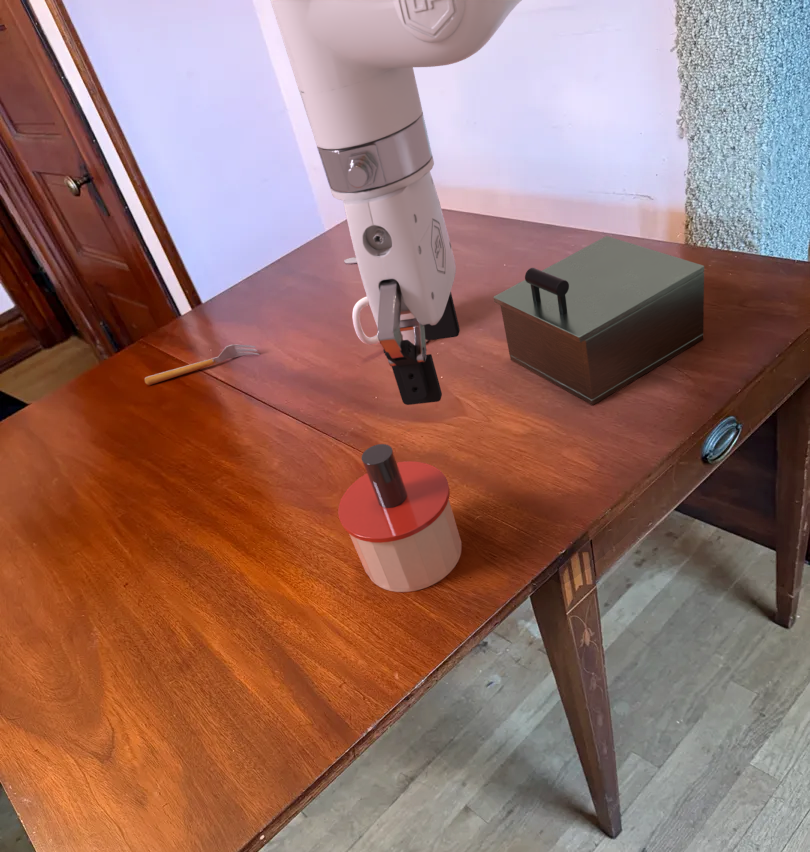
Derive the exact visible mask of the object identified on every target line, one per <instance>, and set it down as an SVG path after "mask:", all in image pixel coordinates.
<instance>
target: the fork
mask: <svg viewBox="0 0 810 852" xmlns="http://www.w3.org/2000/svg"><path fill="white" fill-rule="evenodd" d="M256 347H257V346H255V345H252V344H229V345H226V346H225V347H224V349H222V351H221V353H220V354H219V355H218V356H215V357H212V358H208V359H205V360H201V361H198V362H195V363H191V364H187V365H184V366H180V367H176V368H174V369H169V370H166V371H162V372H158V373H155V374H152V375H148V376H145V377H144V383H145V384H146V385H148V386H152V385H156V384H158V383H161V382H164V381H167V380H170V379H174V378H177V377H179V376H182V375H185V374H188V373H192V372H195V371H198V370H201V369H204V368H206V367H211V366H213V365H216V364H219V363H222V362H224V361H226V360H230V359H235V358H238V357H242V356H251V355H253V356H260V355H261V353H258V351H259V350H258V349H255V348H256Z"/></svg>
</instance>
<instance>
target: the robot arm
mask: <svg viewBox="0 0 810 852" xmlns="http://www.w3.org/2000/svg"><path fill="white" fill-rule="evenodd" d="M522 1H523V0H270V3H271V6H272V7H271V8H272V10H273V14H274V16H275V20H276V22H277V23H276V24H277V25H278V29H279V32H280V35H281V39H282V41H283V43H284V44H283V45H284V48H285V51H286V54H287V57H288V60H289V64H290V66H291V70H292V73H293V77H294V79H295V82H296V85H297V89H298V92H299V95H300V99H301V102H302V104H303V108H304V110H305V114H306V117H307V120H308V123H309V126H310V129H311V132H312V135H313V139H314V142H315V144H316V149H317V151H318V155H319V159H320V162H321V164H322V167H323V171H324V174H325V177H326V181H327V184H328V186H329V189H330V193H331V196H332V197H333V198H334V199H336V200H339V201H342V203H343V207H344V212H345V217H346V222H347V226H348V230H349V231H348V232H349V235H350V239H351V244H352V248H353V252H354V257H356V260H357V263H356V264H357V267H358V268H357V269H358V270H359V274H360V278H361V279H360V280H361V282H362V285H363V288H364V289H363V290H364V293H365V294H366V296H367V299H368V302H369V308H370V311H371V313H372V316H373V319H374V321H376V322H375V324H376V323H377V325H378V328H377V327H376V328H377V330H376V335H377V336H378V340H379V342H380V343H379V344H380V345H381V347H382V349H383V354H384V356H385V357H386V359H387V361H388V365H389V366H390V367H391V370H392V373H393V375H394V379H395V382H396V385H397V388H398V391H399V395H400V398H401V401H402V403H403V404H404V405H406V406H411V405H418V404H421V405H422V404H429V403H430V404H431V403H438V402H440V401H441V399H442V396H443V392H442V388H441V385H440V381H439V377H438V374H437V371H436V366H435V362H434V359H433V355H432V353H429V354H427V342H426V340H429V341H435V340H442V339H450V338H456V337H458V336H459V335H460V332H461V329H460V324H459V320H458V315H457V311H456V307H455V303H454V299H453V294H452V288H453V285H454V282H455V278H456V274H457V273H456V272H457V264H456V263H457V262H456V258H455V255H454V251H453V247H452V243H451V240H450V235H449V232H448V229H447V225H446V220H445V218H444V217H445V216H444V213H443V209H442V206H441V202H440V199H439V195H438V192H437V188H436V185H435V183H434V179H433V176H432V174H431V171H432V169H433V167H434V165H435V161H434V157H433V156H434V155H433V153H432V147H431V143H430V138H429V133H428V130H427V125H426V119H425V115H424V111H423V108H422V101H421V97H420V93H419V88H418V84H417V79H416V76H415V71H414V68H433V67H442V66H449V65H453V64H456V63H459V62H462V61H465V60H466V59H468V58H470V57H472V56H473V55H475V54H476V53H478V52H479V51H480V50H481V49H482V48H483V47H484V46H486V44H488V42H489V41H490V40H491V39H492V37H494V35H495V34H496V32H497V31H498V30H499V29H500V27H501V26H502V25H503V23H504V22H505V20H506V19H507V18H508V16H509V15H510V14H511V13H512V11H513V10H514V9H515V8H516V7H517V6H518V4H520V2H522ZM366 296H365V297H366ZM409 313H412V314H413V315H414V317H415V318H413V319H406V320H400V315H402V314H409ZM377 325H376V326H377ZM408 330H414V340H415V345H414V344H412V343H411V342H410V341H409V340H403V335H402V334H401V331H408ZM425 339H426V340H425Z"/></svg>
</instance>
